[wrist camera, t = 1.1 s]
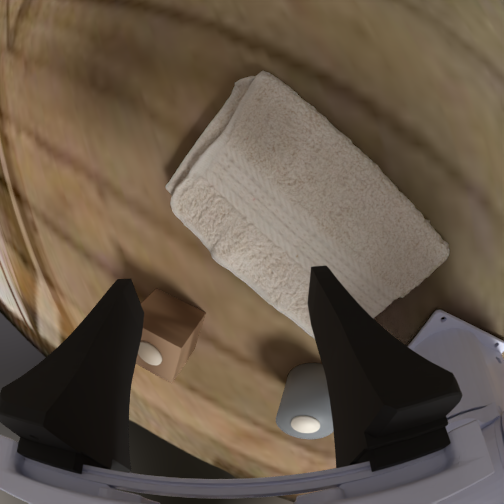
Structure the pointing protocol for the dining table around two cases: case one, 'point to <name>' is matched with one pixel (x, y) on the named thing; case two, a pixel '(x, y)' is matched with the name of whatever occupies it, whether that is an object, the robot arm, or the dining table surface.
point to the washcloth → (299, 204)
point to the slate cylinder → (306, 403)
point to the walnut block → (168, 334)
